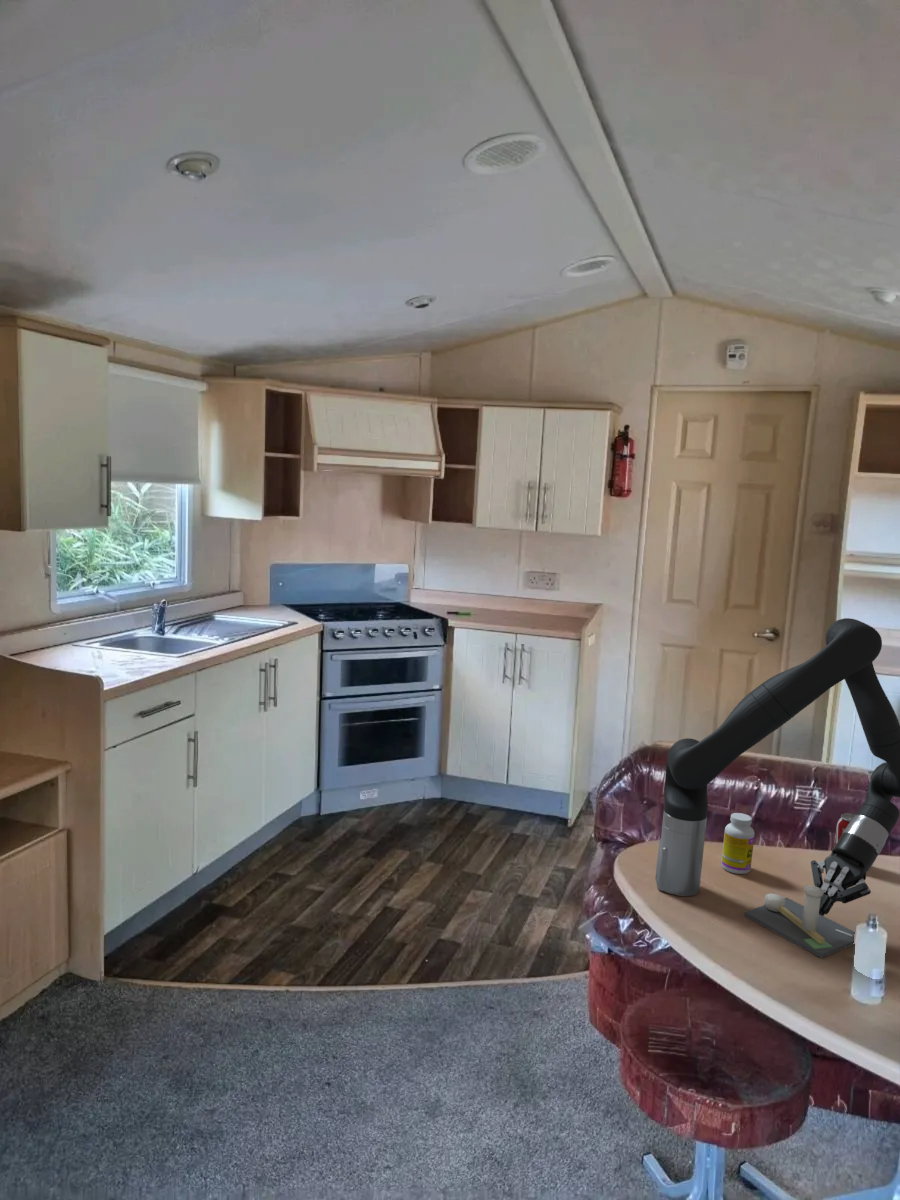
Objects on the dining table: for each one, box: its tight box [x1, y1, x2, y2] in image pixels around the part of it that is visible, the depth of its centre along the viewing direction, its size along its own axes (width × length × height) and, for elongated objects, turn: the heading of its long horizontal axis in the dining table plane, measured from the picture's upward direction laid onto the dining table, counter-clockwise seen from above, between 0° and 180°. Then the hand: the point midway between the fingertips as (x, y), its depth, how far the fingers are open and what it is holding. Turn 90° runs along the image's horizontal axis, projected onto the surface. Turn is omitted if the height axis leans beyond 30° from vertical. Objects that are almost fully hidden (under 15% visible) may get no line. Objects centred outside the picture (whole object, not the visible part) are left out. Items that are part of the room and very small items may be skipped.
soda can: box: [833, 812, 857, 848], centre depth 209 cm, size 7×7×12 cm
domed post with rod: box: [763, 885, 825, 944], centre depth 177 cm, size 17×4×10 cm, turn 15°
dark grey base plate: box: [744, 897, 855, 959], centre depth 178 cm, size 14×18×1 cm
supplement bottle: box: [720, 812, 755, 875], centre depth 203 cm, size 7×7×13 cm
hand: (818, 912), depth 173 cm, fingers closed
